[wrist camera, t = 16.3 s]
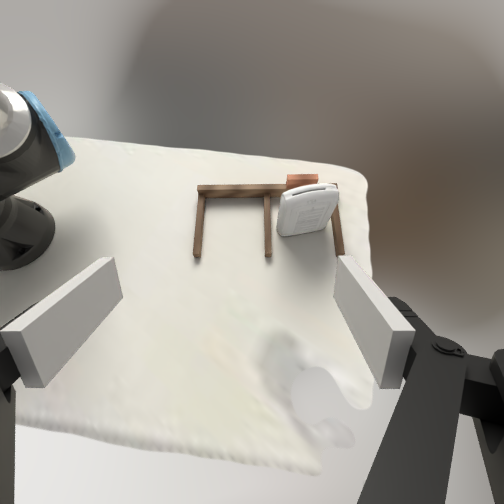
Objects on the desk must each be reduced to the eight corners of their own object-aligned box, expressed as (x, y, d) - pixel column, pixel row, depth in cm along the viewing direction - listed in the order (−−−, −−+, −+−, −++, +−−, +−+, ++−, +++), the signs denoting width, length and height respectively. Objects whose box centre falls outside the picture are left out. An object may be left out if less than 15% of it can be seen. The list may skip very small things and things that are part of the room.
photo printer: (321, 212, 56) (337, 174, 45) (327, 230, 54) (346, 195, 43) (274, 221, 55) (278, 184, 44) (278, 239, 54) (284, 206, 42)
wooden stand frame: (194, 257, 53) (187, 244, 47) (200, 193, 58) (194, 175, 53) (342, 256, 52) (352, 243, 46) (333, 191, 58) (341, 173, 52)
